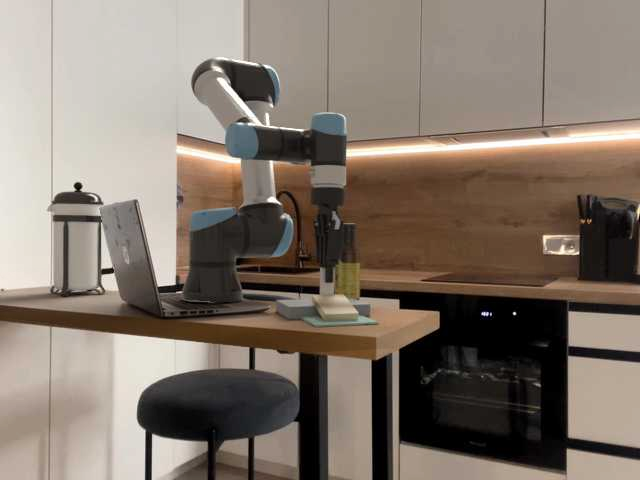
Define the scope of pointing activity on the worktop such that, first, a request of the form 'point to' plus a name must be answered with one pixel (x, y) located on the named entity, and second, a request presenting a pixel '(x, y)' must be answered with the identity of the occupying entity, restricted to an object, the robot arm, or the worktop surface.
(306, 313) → the grey slab
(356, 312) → the cream notepad
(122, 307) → the worktop surface
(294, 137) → the robot arm
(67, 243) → the coffee press
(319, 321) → the mat
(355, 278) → the sauce bottle
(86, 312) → the worktop surface
